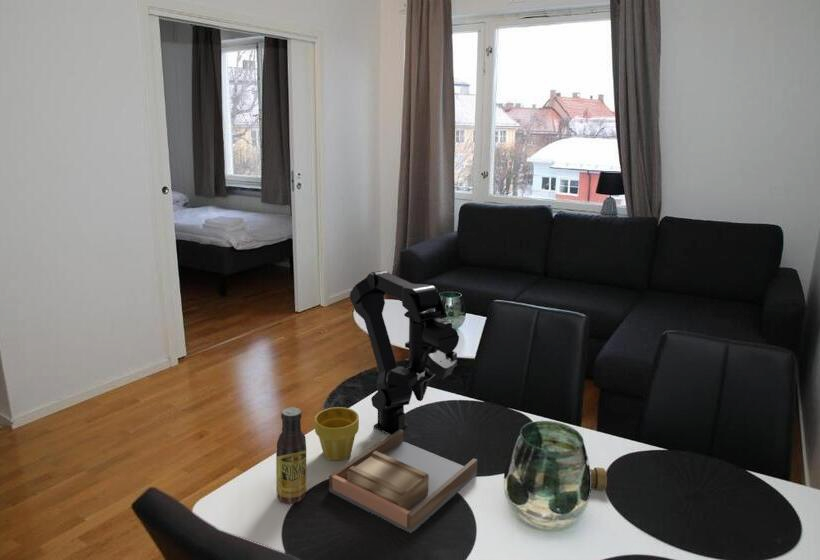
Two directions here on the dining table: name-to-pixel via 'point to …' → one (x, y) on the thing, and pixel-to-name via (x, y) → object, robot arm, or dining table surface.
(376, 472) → the brown wooden box
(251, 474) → the dining table surface
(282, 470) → the sauce bottle
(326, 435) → the plant pot
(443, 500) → the bay
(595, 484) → the gavel
